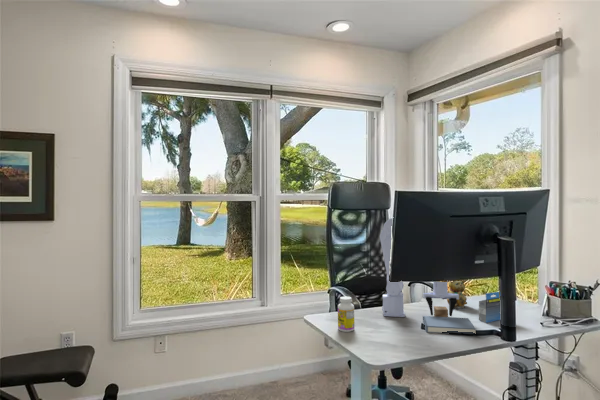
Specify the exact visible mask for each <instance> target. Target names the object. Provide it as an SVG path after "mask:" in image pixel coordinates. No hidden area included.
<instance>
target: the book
mask: <svg viewBox="0 0 600 400" xmlns="http://www.w3.org/2000/svg"><path fill="white" fill-rule="evenodd" d="M423 323H424V324H423ZM422 324H423V326H424V325H425V327H424V330H425V332H426V333H431V334H433V333H434V334H436V333H437V334H443V333H442V332H447V331H458V332H473V333H475V334H476V330H477V328H476V327H475V325H474V324H473V322H472V321H471V319H469V318H468V317H453V316H448V317H435V316H434V315H430V316H429V315H422Z"/></svg>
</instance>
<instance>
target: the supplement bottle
mask: <svg viewBox="0 0 600 400" xmlns="http://www.w3.org/2000/svg"><path fill="white" fill-rule="evenodd" d="M339 301H340V303H338V305H337V329H338V330H339V331H340V332H343V333H350V332H353V331H355V327H356V325H355V305H354V304H353V303H352V297H351V296H346V295H345V296H340V297H339Z"/></svg>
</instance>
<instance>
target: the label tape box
mask: <svg viewBox="0 0 600 400" xmlns="http://www.w3.org/2000/svg"><path fill="white" fill-rule="evenodd" d="M499 292H500V291H494V292H487V293H485V299H482V300H479V301H478V321H480V322H482V323H485V324H488V323H492V322H496V321H501V314H500V299H499Z"/></svg>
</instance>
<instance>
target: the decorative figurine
mask: <svg viewBox="0 0 600 400" xmlns="http://www.w3.org/2000/svg"><path fill="white" fill-rule="evenodd" d="M466 282H467V281H453V282H450V281H448V287H449V290H448V293H452V294H458V295H459V299H456V300H457V302H456V304H455V306H454V309H463V308H465V306H466V305H468V302H467V296H466V295H464V294H463V293H464V292H465V289H466V286H465V283H466ZM446 301H447V304H448V305H449V299H446Z"/></svg>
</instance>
